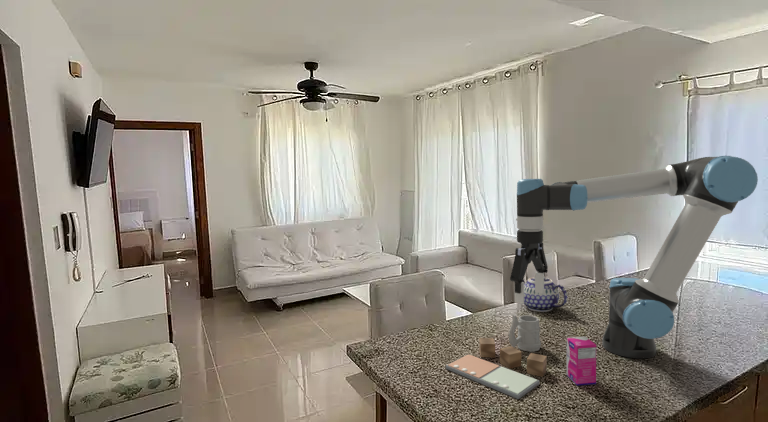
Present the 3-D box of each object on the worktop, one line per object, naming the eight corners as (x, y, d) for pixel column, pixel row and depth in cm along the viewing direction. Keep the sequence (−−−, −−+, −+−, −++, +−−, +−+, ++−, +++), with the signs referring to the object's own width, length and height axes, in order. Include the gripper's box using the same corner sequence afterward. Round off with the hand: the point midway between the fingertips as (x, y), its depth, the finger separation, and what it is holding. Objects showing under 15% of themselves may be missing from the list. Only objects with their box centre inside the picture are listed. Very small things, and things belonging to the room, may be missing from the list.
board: (539, 384, 118) (539, 379, 118) (518, 399, 111) (518, 394, 110) (468, 357, 136) (468, 353, 136) (445, 368, 128) (445, 364, 128)
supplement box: (565, 375, 122) (566, 337, 121) (585, 374, 123) (586, 335, 121) (576, 386, 116) (576, 345, 115) (597, 384, 117) (597, 344, 116)
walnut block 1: (493, 351, 139) (493, 338, 139) (495, 357, 135) (495, 344, 135) (479, 351, 140) (479, 338, 140) (480, 357, 136) (480, 343, 135)
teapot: (577, 313, 173) (578, 277, 172) (552, 320, 166) (553, 283, 164) (528, 297, 195) (529, 265, 193) (504, 303, 187) (504, 270, 186)
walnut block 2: (521, 366, 129) (521, 351, 128) (509, 369, 127) (509, 354, 127) (511, 360, 133) (511, 346, 133) (499, 362, 131) (499, 348, 131)
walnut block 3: (546, 370, 126) (546, 356, 125) (542, 377, 122) (543, 362, 121) (530, 367, 128) (530, 352, 128) (526, 373, 124) (526, 358, 124)
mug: (546, 349, 140) (546, 313, 139) (517, 356, 135) (517, 319, 134) (529, 340, 147) (529, 306, 146) (501, 347, 142) (501, 312, 141)
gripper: (536, 224, 142) (536, 286, 144) (497, 234, 124) (498, 305, 126) (558, 225, 137) (558, 290, 139) (522, 236, 119) (522, 310, 121)
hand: (529, 297), depth 132 cm, fingers open, 13 cm apart
